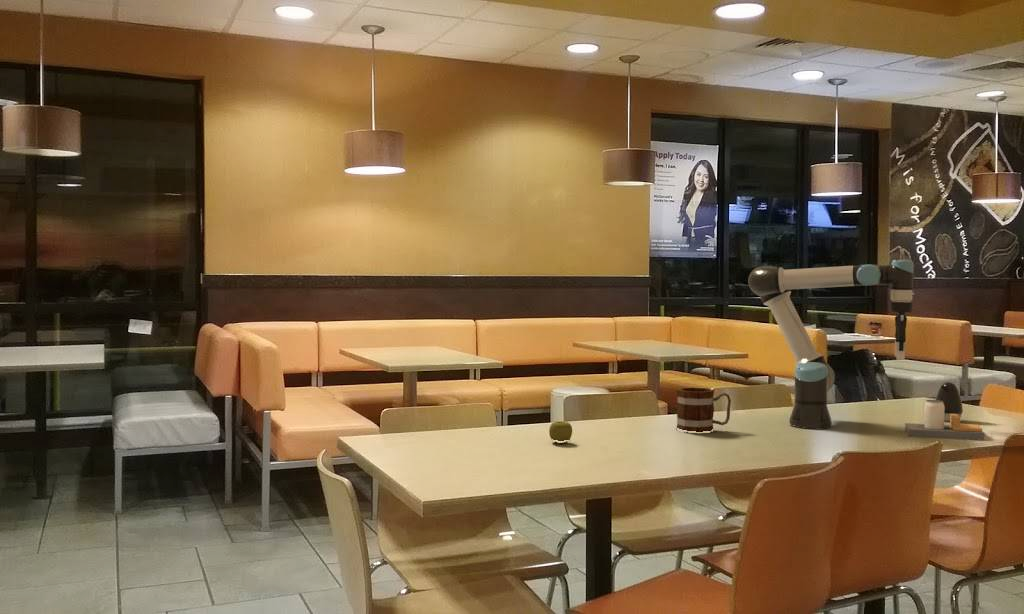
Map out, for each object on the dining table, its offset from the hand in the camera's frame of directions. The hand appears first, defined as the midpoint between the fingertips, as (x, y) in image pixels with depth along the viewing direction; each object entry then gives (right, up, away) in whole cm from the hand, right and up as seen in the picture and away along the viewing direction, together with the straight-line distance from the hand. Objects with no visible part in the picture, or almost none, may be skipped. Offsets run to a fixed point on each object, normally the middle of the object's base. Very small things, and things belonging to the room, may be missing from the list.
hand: (899, 358), depth 340 cm
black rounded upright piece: (+26, -26, +16) cm, 39 cm away
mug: (-75, -26, -8) cm, 80 cm away
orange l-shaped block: (+16, -24, -18) cm, 34 cm away
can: (+6, -27, -15) cm, 31 cm away
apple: (-128, -27, -33) cm, 135 cm away
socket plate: (+9, -26, -16) cm, 32 cm away
